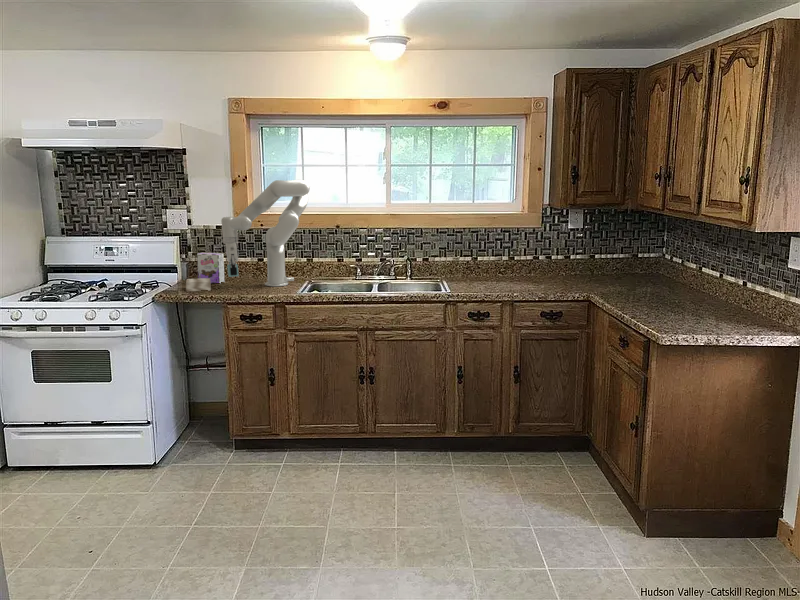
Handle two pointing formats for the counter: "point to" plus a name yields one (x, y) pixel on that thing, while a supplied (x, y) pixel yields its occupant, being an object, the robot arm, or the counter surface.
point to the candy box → (211, 266)
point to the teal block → (230, 271)
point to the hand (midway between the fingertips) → (233, 273)
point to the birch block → (198, 284)
